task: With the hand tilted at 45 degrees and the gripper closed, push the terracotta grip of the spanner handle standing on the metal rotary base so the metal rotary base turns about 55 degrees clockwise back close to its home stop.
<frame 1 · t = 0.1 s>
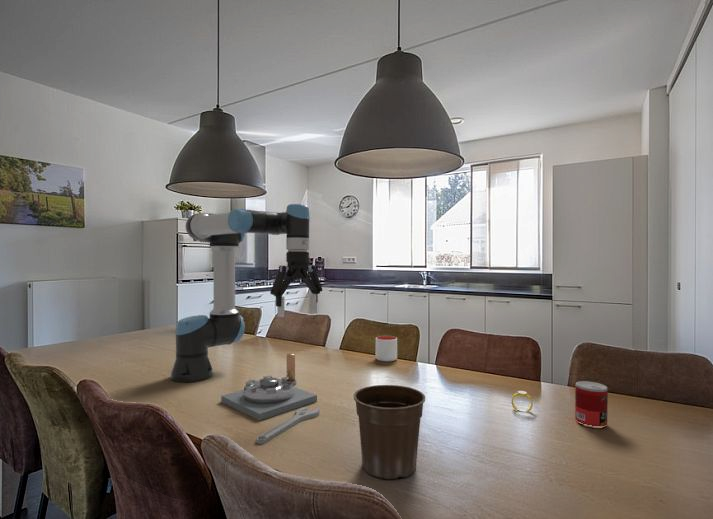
hand: (297, 314, 136), 28 cm above the table, tool pointing down, fingers open, 13 cm apart
adjustable wrench: (287, 426, 115), on the table
metal rotary base: (270, 375, 133), point 8 cm above the table, hinge at 60.0°
plant pot: (389, 466, 93), on the table
base plate: (269, 401, 133), on the table
cup: (386, 359, 188), on the table
canned food: (590, 424, 116), on the table
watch: (521, 411, 126), on the table
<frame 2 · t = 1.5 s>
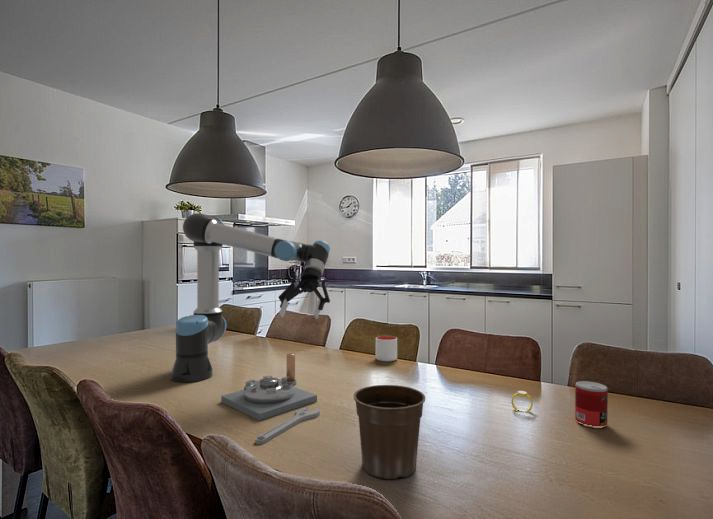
hand: (298, 316, 148), 26 cm above the table, tool tilted 45°, fingers open, 13 cm apart
nothing on the table moved.
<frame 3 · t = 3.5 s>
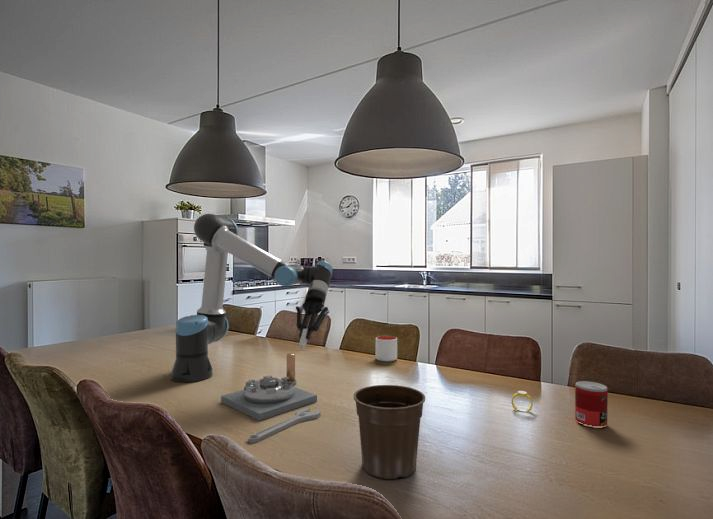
hand: (301, 346, 143), 16 cm above the table, tool tilted 45°, fingers closed
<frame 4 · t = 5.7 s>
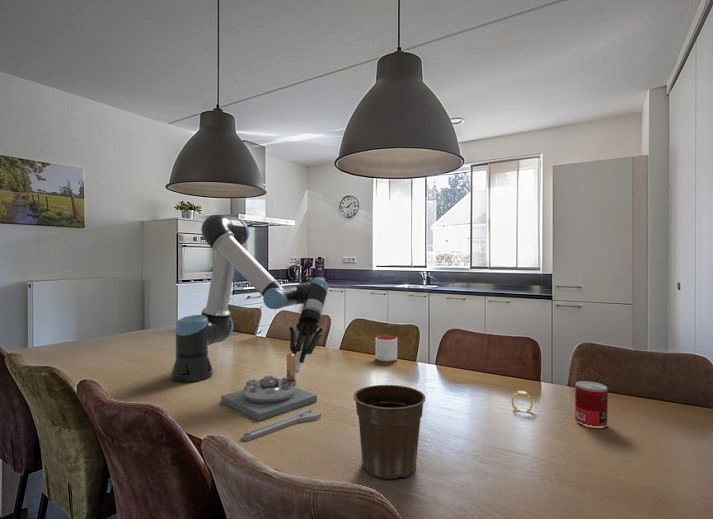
hand: (295, 370, 137), 9 cm above the table, tool tilted 45°, fingers closed
metal rotary base: (270, 375, 133), point 9 cm above the table, hinge at 57.4°, touching gripper
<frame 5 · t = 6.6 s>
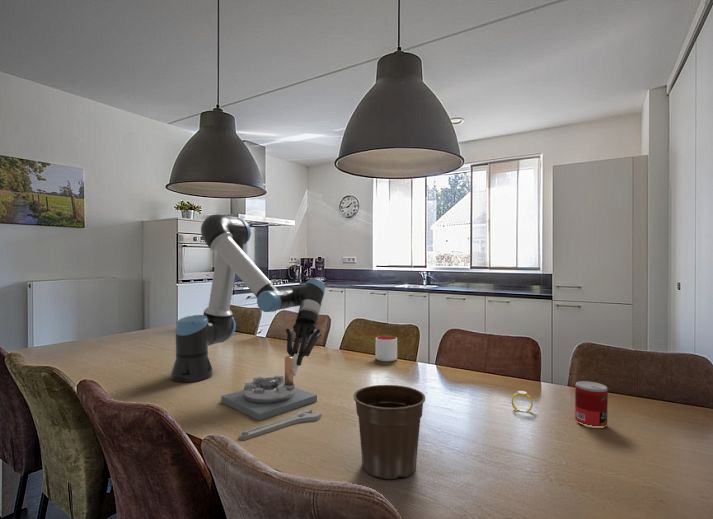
hand: (292, 373, 134), 9 cm above the table, tool tilted 45°, fingers closed
metal rotary base: (270, 375, 133), point 9 cm above the table, hinge at 27.9°, touching gripper
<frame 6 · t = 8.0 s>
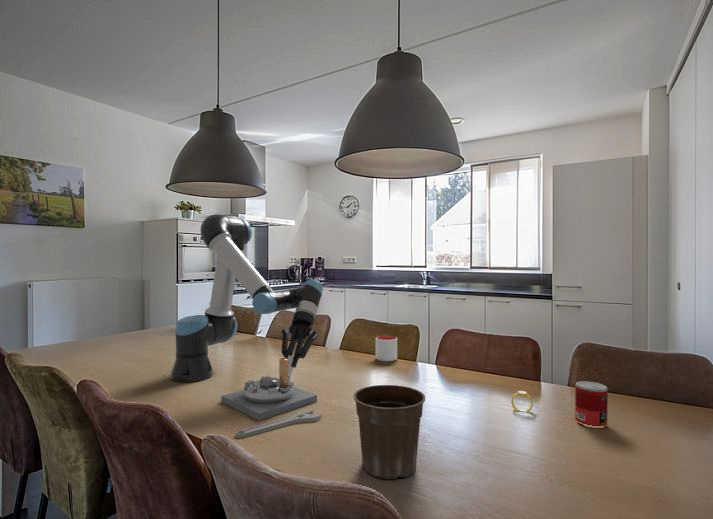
hand: (286, 375, 132), 9 cm above the table, tool tilted 45°, fingers closed
metal rotary base: (270, 375, 133), point 8 cm above the table, hinge at 5.2°, touching gripper
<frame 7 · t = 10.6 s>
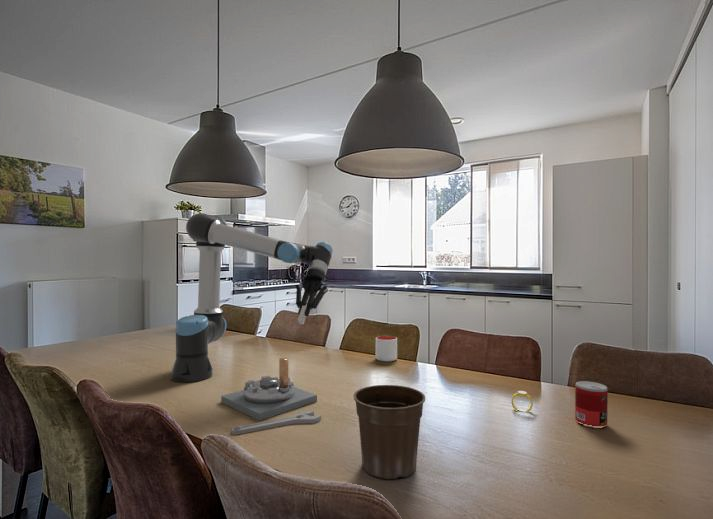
hand: (300, 322, 146), 24 cm above the table, tool tilted 45°, fingers closed
metal rotary base: (270, 375, 133), point 9 cm above the table, hinge at 5.2°
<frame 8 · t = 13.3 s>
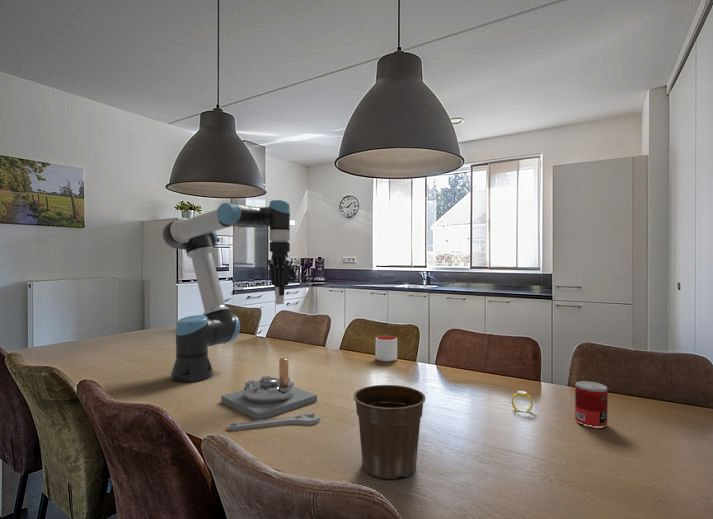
hand: (279, 304, 154), 29 cm above the table, tool pointing down, fingers closed
at the end: metal rotary base at +5° (first picture: +60°) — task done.
